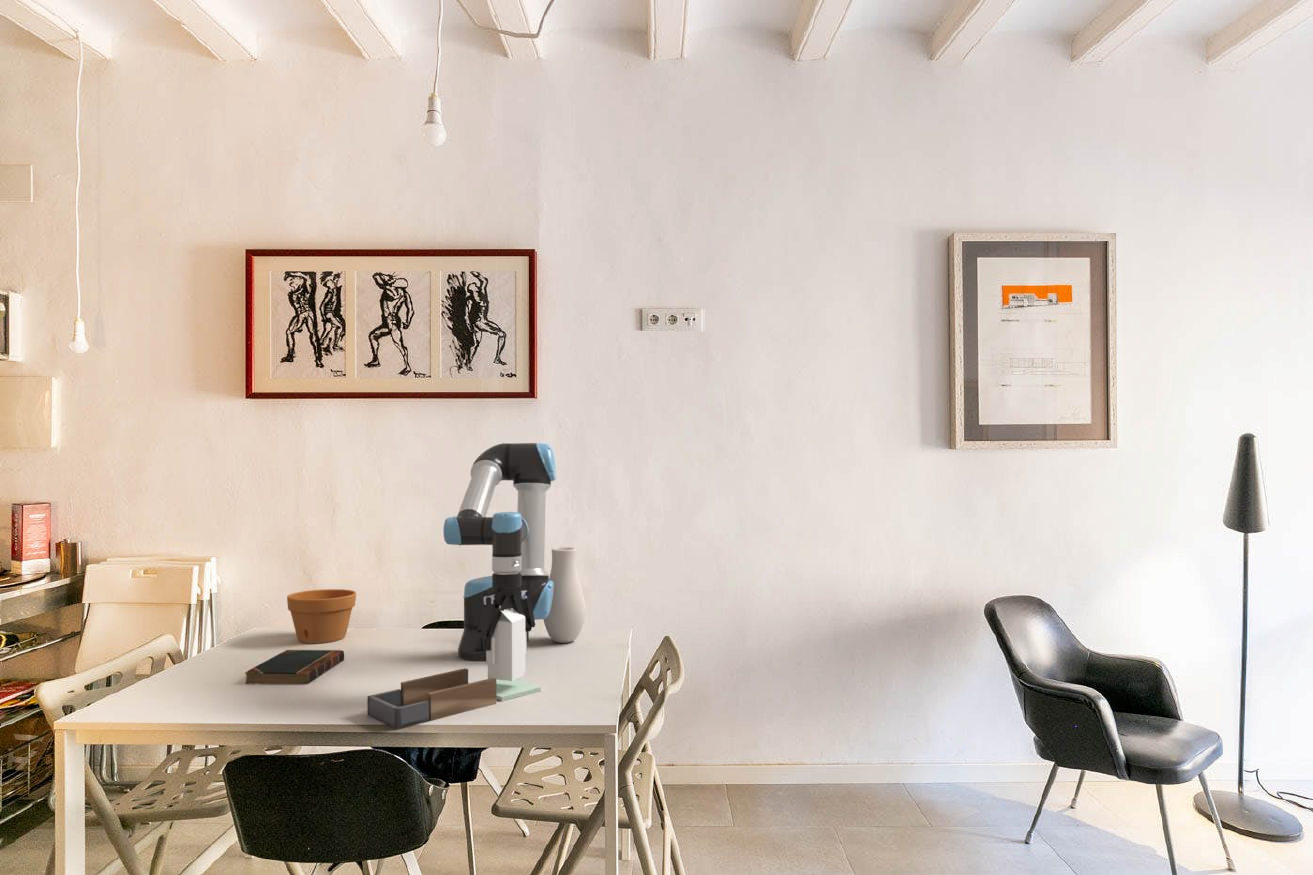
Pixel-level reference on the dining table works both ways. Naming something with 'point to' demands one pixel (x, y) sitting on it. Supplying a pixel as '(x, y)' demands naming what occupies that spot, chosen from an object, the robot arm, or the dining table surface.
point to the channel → (449, 693)
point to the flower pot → (321, 614)
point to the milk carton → (509, 646)
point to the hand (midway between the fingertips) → (506, 659)
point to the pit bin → (396, 710)
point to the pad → (514, 689)
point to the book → (294, 667)
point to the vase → (565, 597)
